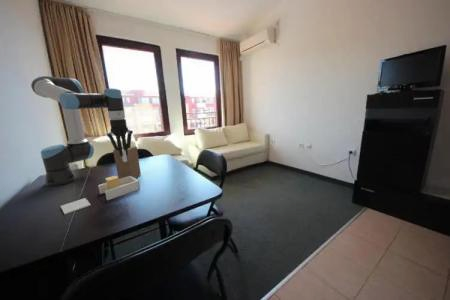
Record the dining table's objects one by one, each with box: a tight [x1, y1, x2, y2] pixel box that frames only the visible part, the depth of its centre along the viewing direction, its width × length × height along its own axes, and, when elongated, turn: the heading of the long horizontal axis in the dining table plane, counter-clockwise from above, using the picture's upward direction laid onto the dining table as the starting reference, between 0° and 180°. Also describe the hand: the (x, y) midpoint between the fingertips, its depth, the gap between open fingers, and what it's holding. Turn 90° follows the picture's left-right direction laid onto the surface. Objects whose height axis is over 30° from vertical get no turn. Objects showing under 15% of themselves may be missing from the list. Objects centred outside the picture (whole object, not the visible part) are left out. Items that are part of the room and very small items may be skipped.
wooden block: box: [112, 146, 142, 179], centre depth 124 cm, size 10×10×20 cm
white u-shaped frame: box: [97, 176, 141, 201], centre depth 106 cm, size 12×17×5 cm
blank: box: [105, 175, 120, 190], centre depth 103 cm, size 5×5×9 cm
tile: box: [60, 197, 92, 215], centre depth 91 cm, size 10×10×1 cm
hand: (124, 161), depth 106 cm, fingers closed
